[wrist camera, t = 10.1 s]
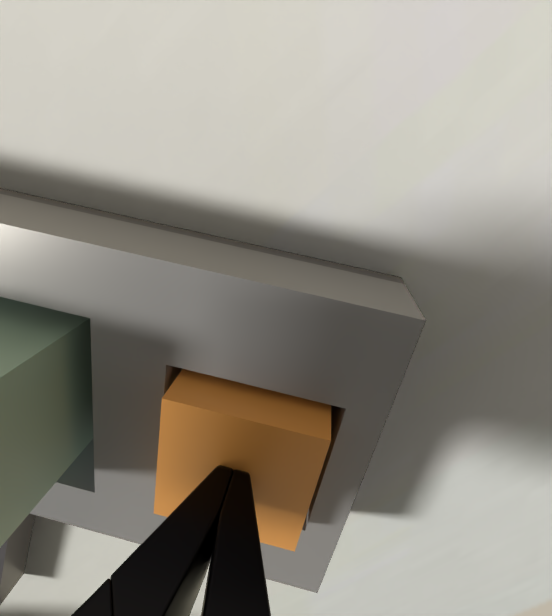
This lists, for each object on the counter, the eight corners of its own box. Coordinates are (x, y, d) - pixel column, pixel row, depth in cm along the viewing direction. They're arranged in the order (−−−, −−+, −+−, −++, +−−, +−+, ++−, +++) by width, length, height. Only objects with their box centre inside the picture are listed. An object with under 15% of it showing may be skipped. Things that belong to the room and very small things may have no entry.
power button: (331, 373, 11) (331, 440, 8) (302, 469, 12) (294, 551, 10) (201, 342, 11) (161, 398, 8) (189, 440, 13) (153, 513, 10)
